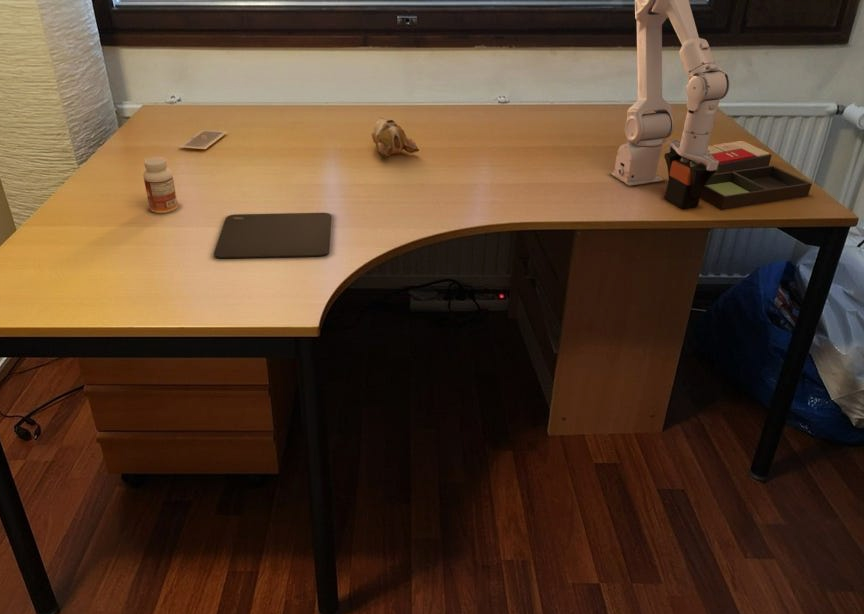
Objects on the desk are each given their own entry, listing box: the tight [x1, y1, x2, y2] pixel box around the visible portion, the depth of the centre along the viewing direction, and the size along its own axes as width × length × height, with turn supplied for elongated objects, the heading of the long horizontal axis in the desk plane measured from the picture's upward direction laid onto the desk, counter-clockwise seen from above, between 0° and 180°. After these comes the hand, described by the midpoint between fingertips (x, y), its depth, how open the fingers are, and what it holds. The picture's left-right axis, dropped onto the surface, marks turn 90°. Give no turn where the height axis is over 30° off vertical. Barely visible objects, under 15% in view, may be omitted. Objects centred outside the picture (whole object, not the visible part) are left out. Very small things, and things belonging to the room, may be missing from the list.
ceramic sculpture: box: [371, 116, 420, 158], centre depth 194 cm, size 11×9×15 cm
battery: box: [664, 157, 701, 210], centre depth 165 cm, size 4×7×10 cm, turn 19°
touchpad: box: [178, 128, 229, 150], centre depth 203 cm, size 8×15×2 cm, turn 166°
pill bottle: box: [143, 156, 178, 214], centre depth 164 cm, size 6×6×11 cm
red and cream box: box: [708, 140, 772, 174], centre depth 186 cm, size 11×4×15 cm
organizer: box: [700, 165, 813, 211], centre depth 171 cm, size 24×12×3 cm, turn 108°
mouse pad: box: [213, 212, 332, 259], centre depth 155 cm, size 23×20×1 cm
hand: (683, 190), depth 166 cm, fingers closed on battery, 7 cm apart
